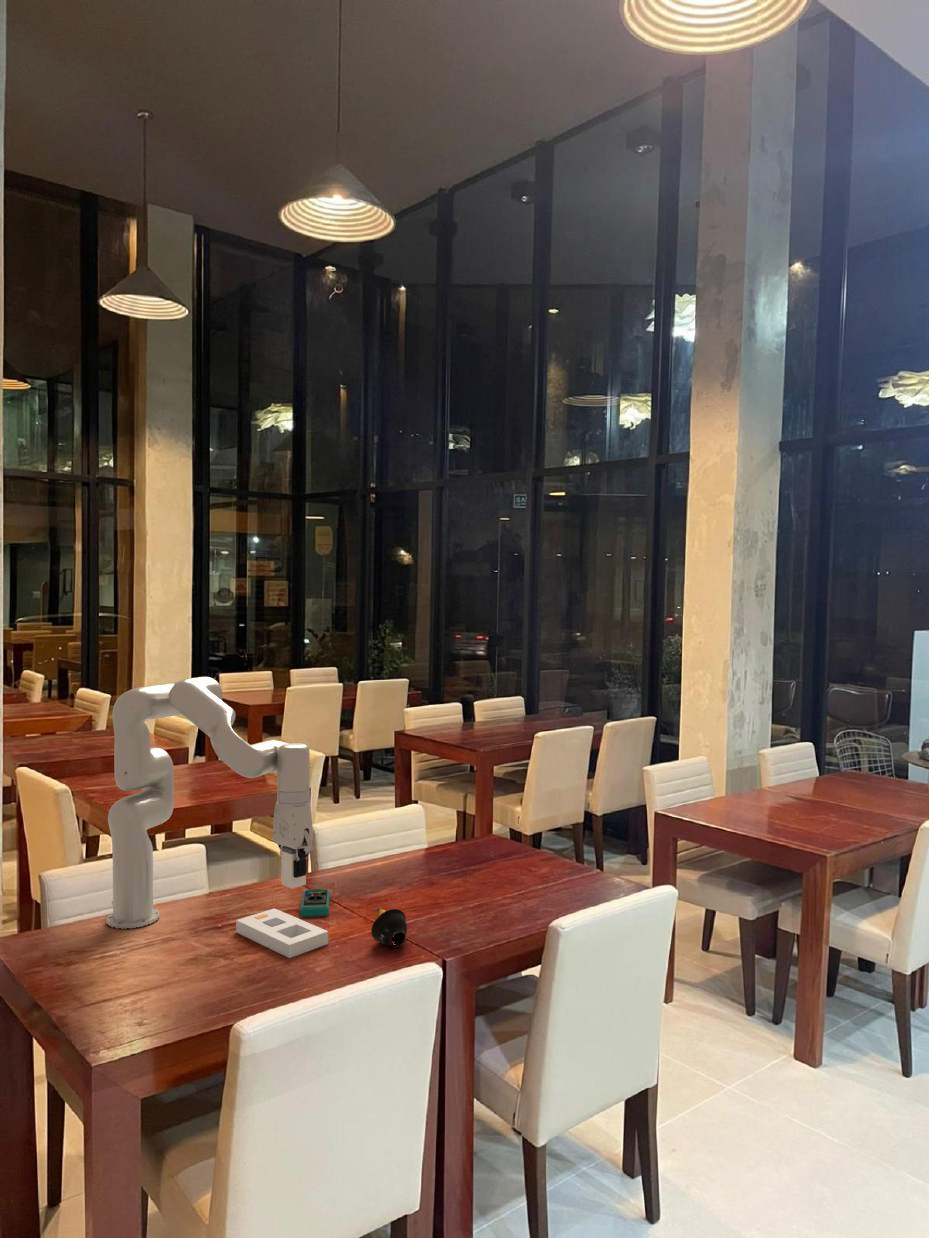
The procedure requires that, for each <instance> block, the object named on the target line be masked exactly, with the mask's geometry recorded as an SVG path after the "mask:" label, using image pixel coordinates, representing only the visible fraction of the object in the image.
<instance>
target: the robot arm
mask: <svg viewBox="0 0 929 1238" xmlns="http://www.w3.org/2000/svg"><path fill="white" fill-rule="evenodd" d="M223 695H224V694H223V688H222V686H221V684H220V683H219V682H218V681H217V680H216V679H214V678H212V677H209V676H198V677H191V678H185V679H181V680H179V681H176V682H170V683H169V682H168V683H161V684H155V685H145V686H139V687H135V688H132V689H129V690H127V691H125V692H124V693H122V694H121V695H120V696H118V698H117V699H116V701H115V703H114V705H113V707H112V713H111V714H112V718H111V719H112V725H113V727H112V728H113V732H114V745H113V748H114V749H113V752H114V753H113V755H114V760H113V761H114V766H113V767H114V768H113V769H114V773H113V774H114V775H113V776H114V781H115V784H116V786H117V787H118V789H120V790H122V791H125V792H132V791H137V790H141V792H137V793H133V794H130V795H128V796H125V797H124V796H123V798H120V799H119V800H116V801H115V802H114V803H113V804H112V805H111V807H110V809H109V811H108V814H107V815H108V816H107V822H108V826H109V832H110V837H111V846H112V853H111V854H112V901H111V905H112V913H110V914H108V915H107V917H106V918H105V921H106V925H107V924H108V925H109V927H110V926H111V928H113V927H115V928H114V929H119V928H121V930H123V929H124V930H125V929H126V930H127V928H129V929H135V928H136V927H137V928H141V927H144V926H145V925H146V926H149V925H151V924H153V923H155V922H156V920H157V921H158V920H159V919H158V918H160V916H161V915H160V914H161V913H160V911H159V909H158V908H154V854H153V853H154V850H153V843H152V841H151V839H150V837H149V834H148V831H147V830H149V829H151V828H155V827H157V826H159V825H162V824H163V823H165V822H166V821H168V820H169V819H170V817H171V816H172V814H173V811H174V806H175V770H174V769H175V767H174V762H173V760H172V758H171V755H169V752H167V751H166V750H165V749H163V748H161V747H151V739H152V738H151V734H150V730H149V727H148V726H147V724H146V722H148V721H152V720H156V719H163V718H169V717H174V716H179V715H182V716H183V717H184V718H186V720H188V721H189V722H190V723H192V724H193V725H194V726H195V727H197V728H198V729H199V730H200V731H202V732H203V733H204V734H205V735H207V736H208V737H209V739H210V743H211V746H212V748H213V750H214V752H215V754H216V756H217V757H218V758H219V760H220V761H221V762H222V763H223V764H225V765H226V766H227V767H229V768H230V769H231V770H232V771H234V772H235V773H237V774H238V775H240V776H241V777H244V778H247V779H256V778H258V777H261V776H264V775H267V774H270V773H274V772H276V778H277V779H276V782H277V783H276V795H277V796H276V797H277V798H276V799H277V800H276V801H275V806H274V811H273V812H274V813H273V821H272V822H273V823H272V826H273V827H272V840H273V842H274V843H276V844H277V845H278V848H279V854H280V856H281V857H282V847H283V846H286V847H289V848H292V849H294V852H295V860H294V877H295V878H298V877H301V876H305V875H306V876H307V859H308V858H309V854H311V853H312V852H313V851H314V849H315V848H314V844H313V840H314V839H313V834H314V833H313V831H314V829H313V817H312V808H311V803H310V802H311V801H310V800H311V798H310V797H311V796H310V795H311V794H310V792H311V789H310V787H311V786H310V784H311V781H310V779H311V778H310V776H311V775H310V771H311V770H310V769H311V767H310V765H311V763H310V761H311V760H310V759H311V757H310V748H309V746H308V745H307V744H304V743H299V742H297V743H292V742H291V743H289V742H288V743H287V742H284V741H279V740H273V739H271V740H265V741H261V742H257V743H254V744H250V743H248V742H247V741H245V740H244V739H243V738H242V737H241V736H239V734H237V733H236V732H235V731H234V729H233V728H232V726H233V725H234V723H235V720H236V711H235V709H233V708H232V707H231V706H230V705H228V704H227V703H226V702H224V701H223ZM299 849H302V851H301V852H300V853H299ZM148 924H149V925H148ZM108 925H107V926H108Z"/></svg>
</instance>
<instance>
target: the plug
mask: <svg viewBox="0 0 929 1238" xmlns="http://www.w3.org/2000/svg"><path fill="white" fill-rule="evenodd" d="M301 851H302V849H299V853H300V852H301ZM294 860H295V852H294V849H292V848H289V847H286V846H283V847H282V856H281V886H284V887H286V888H288V889H295V888H296V889H297V888H300V887H303V886H306V885H307V874H306V875H305V876H301V877H298V878H295V877H294Z"/></svg>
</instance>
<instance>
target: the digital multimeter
mask: <svg viewBox="0 0 929 1238" xmlns="http://www.w3.org/2000/svg"><path fill="white" fill-rule="evenodd" d="M330 899H331V891H330V890H329V889H326V888H325V889H324V888H313V889H306V890H303V892H302V900H301V905H300V908H299V916H300V917H301V918H308V917H309V918H311V917H313V918H314V917H315V918H316V917H327V916H329V913H330V910H329V909H330V908H329V905H330V904H329V903H330Z"/></svg>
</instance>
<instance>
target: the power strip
mask: <svg viewBox="0 0 929 1238" xmlns="http://www.w3.org/2000/svg"><path fill="white" fill-rule="evenodd" d="M235 923H236V924H235V926H236V929H235V933H237V934H239V935H241V936H243V937H245V938H247V939H249V940H251V941H254V942H256V943H258V944H260V945H262V946H263V947H265V948H268V949H270V950H272V951H274V952H276V953H278V954H280V955H282V956H284V957H287V958H288V959H291V958H293V957H296V956H299V955H302V954H305V953H307V952H310V951H314V950H316V949H318V948H321V947H325V946H326V945H328V944H329V931H328V930H326V929H324V928H322V927H320V926H317V925H314V924H312V923H309V922H307V921H305V920H303V919H300V918H298V917H295V916H294V915H291V914H289V913H286V912H284V911H282V910H279V909H276V908H271V909H268V910H265V911H262V912H258V913H255V914H252V915H248V916H245V917H241V918H239V919H236V920H235Z"/></svg>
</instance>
